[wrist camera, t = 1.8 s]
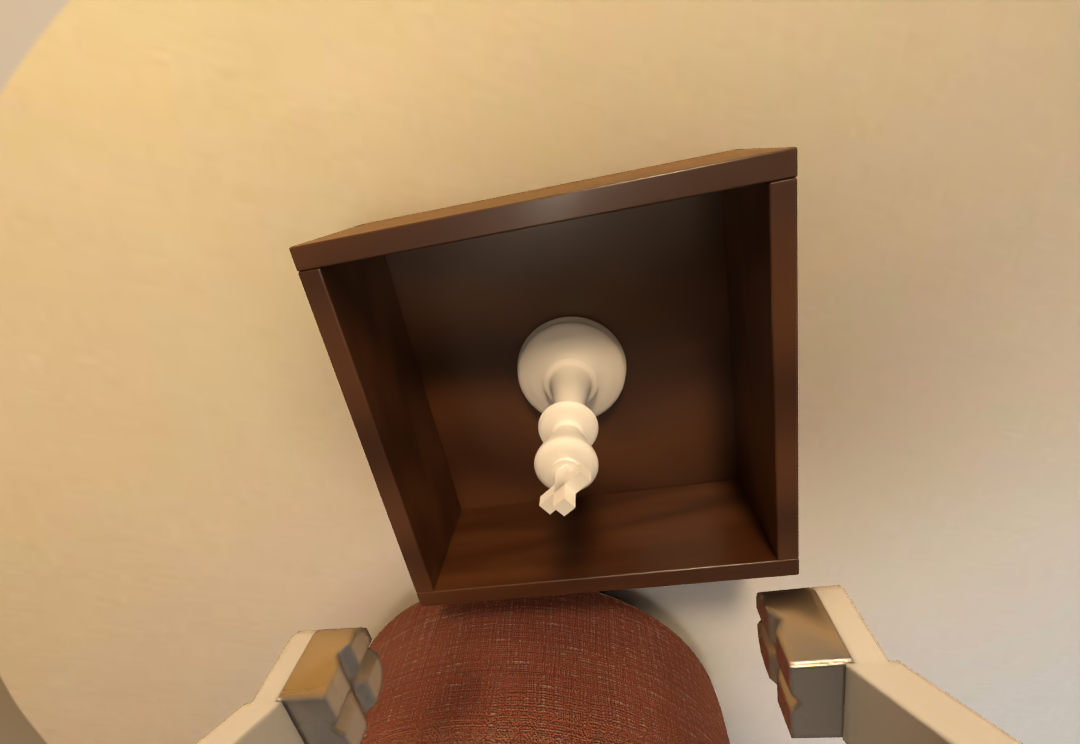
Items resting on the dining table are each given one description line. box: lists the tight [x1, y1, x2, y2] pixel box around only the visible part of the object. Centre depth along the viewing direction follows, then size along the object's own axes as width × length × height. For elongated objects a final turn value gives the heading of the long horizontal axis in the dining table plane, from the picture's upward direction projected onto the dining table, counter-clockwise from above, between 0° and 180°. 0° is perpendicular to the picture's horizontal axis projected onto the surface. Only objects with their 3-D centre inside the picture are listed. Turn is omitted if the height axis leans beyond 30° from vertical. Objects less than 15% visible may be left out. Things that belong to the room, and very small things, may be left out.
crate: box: [289, 147, 799, 607], centre depth 21 cm, size 16×16×6 cm
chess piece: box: [517, 317, 626, 516], centre depth 19 cm, size 5×5×10 cm
